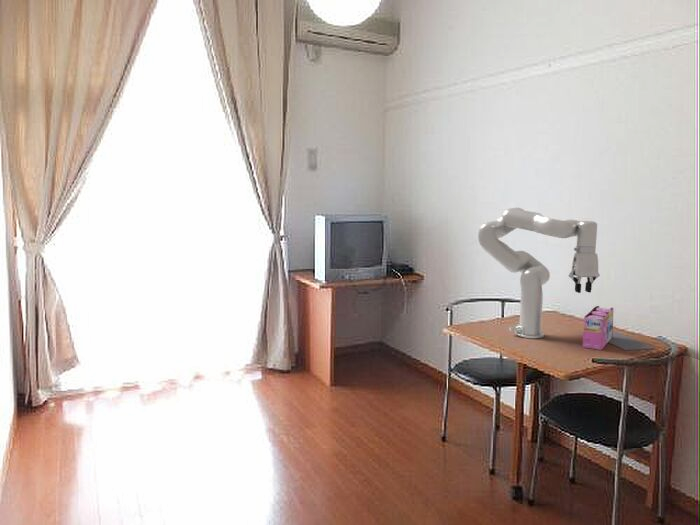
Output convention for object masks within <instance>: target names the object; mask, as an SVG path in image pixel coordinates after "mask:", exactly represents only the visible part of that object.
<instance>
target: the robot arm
mask: <svg viewBox="0 0 700 525" xmlns="http://www.w3.org/2000/svg"><path fill="white" fill-rule="evenodd" d="M516 229H520V230H524V231H530V232H534V233H537V234H542V235H544V236H548V237H549V236H550V237H553V238H559V239H569V238H572V237H576V239H577V240H576V246H575V247H574V248H573V250H574V251H575V253H574V255H573V259H572V264H571V270H570V272H569V274H568V277H569V279H572V281H573V282H574V292H575V293H579V294H581V291H582V283H581V282H582V278H586V282H585V285H584V286H585V290H584V291H585V292H587V293H589V294H590V293H591V292H592V289H593V288H592V286H593V284H594V282H595V280H596V279H598V278H599V277H600V273H599V258H598V253H596V247H597V234H598V223H597V222H596V221H592V220H576V219H566V220H561V219H555V218H550V217H547V216H545V215H543V214H542V213H540V212H536V211H530V210H524V209H523V208H521V207H512V208H511V207H510V208H507V209H505V210H504V212H502V215H501V217H500V218H497V219H496V220H493V221H487V222H485V223H483V224H482V225H481V226H480V227H479V229H478V232H477V239H478V242H479V245H480V246H481V248H482V249H483V250H484V251H485V252H486V253H488V255H490V256H491V257H492V258H493V259H494V260H496V261H497V263H499V264H500V265H501V266H503V267H504V268H505V269H506V270H508V271H509V272H511V273H516V274H517V273H521V275H520V279H519V283H520V284H519V285H520V304H519V305H520V307H519V308H520V309H519V323H517V324H516V325H515V326H509V328H508V330H509V331H510V332H515V335H516V336H519V337H521V338H524V339H541V338H544V337H545V332H543V331H542V320H543V319H542V318H543V316H542V314H543V299H544V298H543V294H544V293H543V285H545V284H547V282H548V281H549V280H550V277H551V276H550V275H551V274H550V273H551V272H550V270H549V269H548V268H547V266H545V265H544V264H543V263H542V262H540V261H539V260H538V259H536V258H535V257H534V256H533V255H531V254H530V253H529V252H527V251H525V250H514V249H513V248H511V247H510V246H509V245H508V244H506V243H505V242H503V241H502V240H501V239H500V238H502V237H505V236H506V235H508V234H509V233H511V232H513V231H515V230H516Z"/></svg>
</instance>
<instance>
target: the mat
mask: <svg viewBox="0 0 700 525" xmlns="http://www.w3.org/2000/svg"><path fill="white" fill-rule="evenodd" d="M608 343H609V345H612V346H615V347H616V348H619V349H620V350H622V351H638V350H639V351H641V350H643V351H644V350H655V349H656V348H655V347H653V346H651V345H648V344H646V343H644V342H642V341H639V340H637V339H635V338H633V337H631V336H628V335H626V334H624V333H621V332H618V331H617V332H615V331H613V337H612V338H611V339H610V340H609V342H608ZM608 343H607V344H608Z"/></svg>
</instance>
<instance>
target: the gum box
mask: <svg viewBox="0 0 700 525" xmlns="http://www.w3.org/2000/svg"><path fill="white" fill-rule="evenodd" d="M613 333H614V307H610V308H607V307H600V306H599V305H596V306H594V307H593V308H592V309H591V310H590V311H589V312H588V313H587V314H586V315H585V316H584V317H583V333H582V348H585V349H592V350H599V351H602V350H603V349H604V348H605V347H606V345H607V344H608V342H609V340H610V339H611V338H612V337H613Z"/></svg>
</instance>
